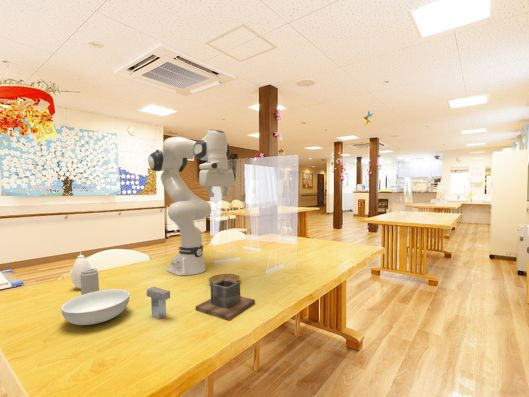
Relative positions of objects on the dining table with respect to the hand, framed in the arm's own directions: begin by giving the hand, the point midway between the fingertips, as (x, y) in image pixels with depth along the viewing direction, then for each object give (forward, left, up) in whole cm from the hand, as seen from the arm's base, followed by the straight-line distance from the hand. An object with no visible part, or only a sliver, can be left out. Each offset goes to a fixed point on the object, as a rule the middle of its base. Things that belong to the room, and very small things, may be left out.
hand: (218, 196), depth 125 cm
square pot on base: (+15, -15, -42) cm, 47 cm away
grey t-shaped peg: (-1, -33, -42) cm, 53 cm away
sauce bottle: (-57, -33, -42) cm, 78 cm away
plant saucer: (-3, +5, -42) cm, 43 cm away
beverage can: (-41, -37, -42) cm, 69 cm away
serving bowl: (-19, -45, -42) cm, 64 cm away
